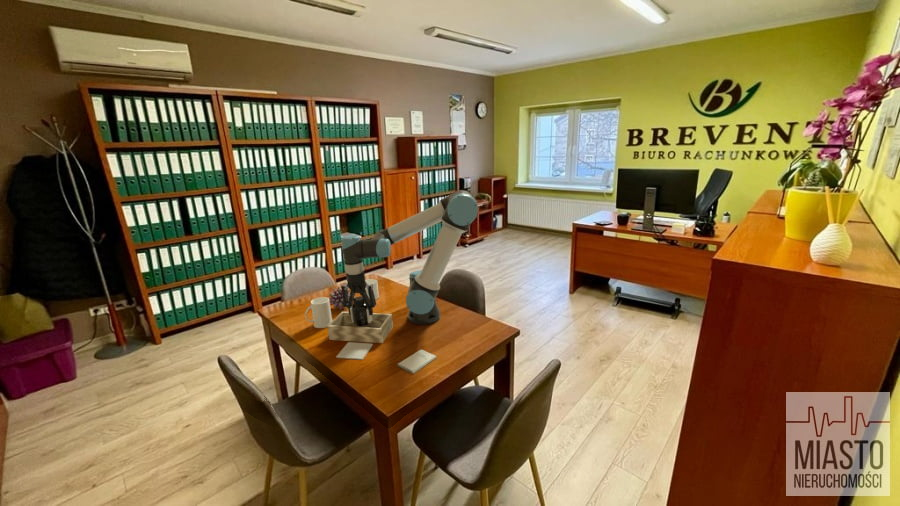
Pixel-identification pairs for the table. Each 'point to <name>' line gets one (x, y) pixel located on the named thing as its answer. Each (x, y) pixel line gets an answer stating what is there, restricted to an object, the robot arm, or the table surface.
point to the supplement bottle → (359, 312)
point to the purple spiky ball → (337, 297)
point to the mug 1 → (320, 312)
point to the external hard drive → (417, 361)
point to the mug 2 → (375, 287)
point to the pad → (354, 350)
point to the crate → (360, 328)
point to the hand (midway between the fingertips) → (362, 321)
